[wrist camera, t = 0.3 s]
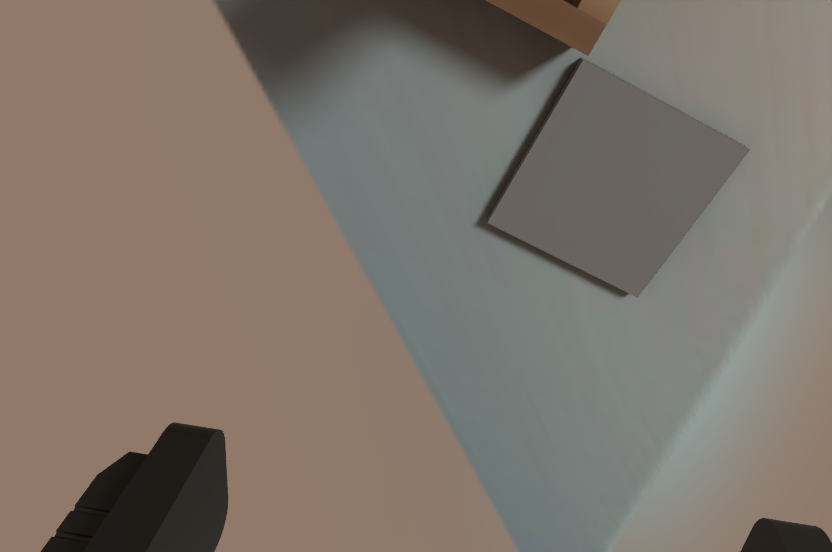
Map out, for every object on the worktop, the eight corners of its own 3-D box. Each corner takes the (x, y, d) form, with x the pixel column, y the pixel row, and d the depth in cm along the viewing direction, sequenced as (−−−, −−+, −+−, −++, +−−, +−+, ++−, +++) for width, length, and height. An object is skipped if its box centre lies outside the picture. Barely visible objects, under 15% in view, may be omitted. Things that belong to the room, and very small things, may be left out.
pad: (581, 57, 34) (583, 60, 33) (744, 145, 35) (749, 149, 34) (487, 217, 38) (487, 223, 38) (635, 291, 39) (637, 297, 39)
